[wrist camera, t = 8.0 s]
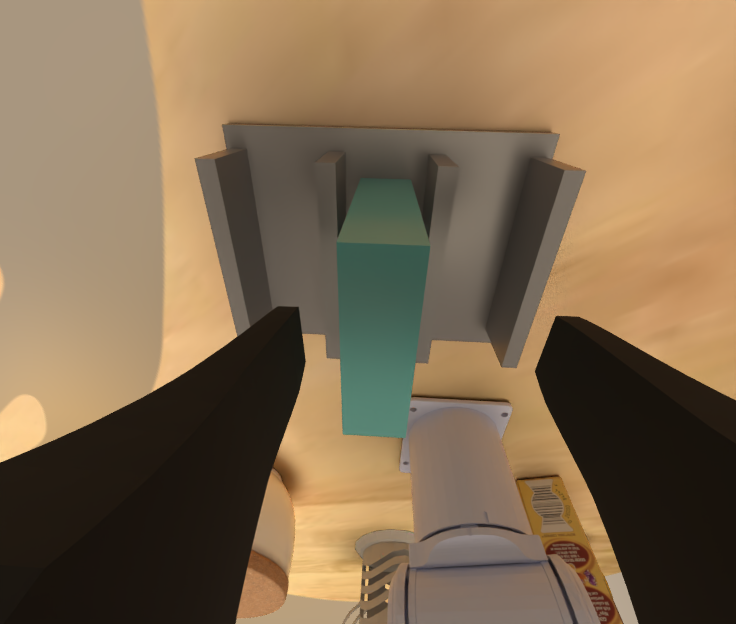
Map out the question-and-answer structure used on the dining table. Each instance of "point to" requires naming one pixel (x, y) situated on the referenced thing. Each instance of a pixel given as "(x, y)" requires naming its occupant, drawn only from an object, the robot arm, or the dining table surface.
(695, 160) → the dining table surface
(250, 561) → the lidded bowl
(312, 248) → the rack
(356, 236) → the teal upright slab
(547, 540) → the candy box
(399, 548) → the french press
